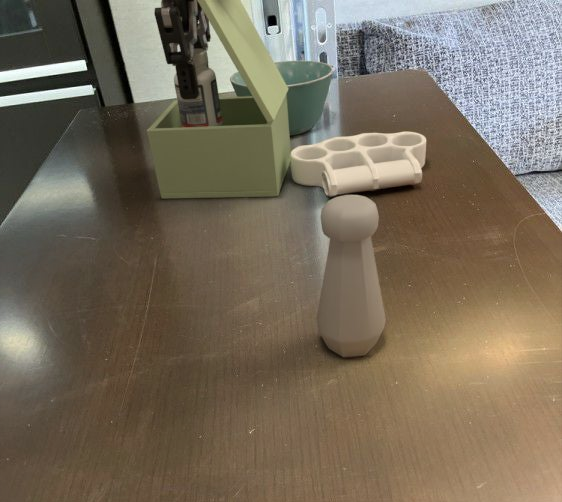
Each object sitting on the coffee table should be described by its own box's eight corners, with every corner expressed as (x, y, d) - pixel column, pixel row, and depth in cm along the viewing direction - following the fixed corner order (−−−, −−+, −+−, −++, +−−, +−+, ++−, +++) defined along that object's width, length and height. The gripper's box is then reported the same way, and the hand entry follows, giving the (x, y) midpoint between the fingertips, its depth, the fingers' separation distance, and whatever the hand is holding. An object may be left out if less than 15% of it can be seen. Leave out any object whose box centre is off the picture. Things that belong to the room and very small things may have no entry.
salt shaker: (306, 337, 55) (295, 198, 47) (360, 316, 57) (359, 179, 49) (340, 372, 51) (336, 227, 43) (398, 348, 53) (404, 204, 45)
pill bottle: (208, 117, 84) (197, 44, 78) (230, 125, 81) (220, 49, 75) (174, 128, 82) (161, 54, 76) (196, 136, 78) (184, 59, 73)
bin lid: (186, -18, 65) (228, -49, 63) (214, -35, 75) (251, -62, 73) (268, 123, 74) (307, 100, 71) (283, 92, 83) (319, 71, 81)
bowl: (241, 115, 106) (234, 63, 101) (333, 108, 105) (332, 55, 100) (232, 148, 94) (224, 90, 89) (336, 141, 93) (334, 82, 88)
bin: (161, 198, 82) (146, 130, 76) (186, 162, 91) (174, 99, 86) (278, 196, 79) (271, 126, 74) (291, 159, 89) (286, 94, 83)
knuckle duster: (304, 207, 76) (285, 164, 87) (446, 186, 77) (410, 147, 88) (302, 180, 74) (283, 140, 85) (449, 159, 75) (411, 122, 86)
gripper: (156, -77, 74) (183, 77, 84) (114, -64, 63) (150, 110, 74) (218, -83, 73) (236, 74, 83) (185, -71, 62) (212, 107, 72)
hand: (196, 90), depth 78 cm, fingers closed on pill bottle, 5 cm apart
